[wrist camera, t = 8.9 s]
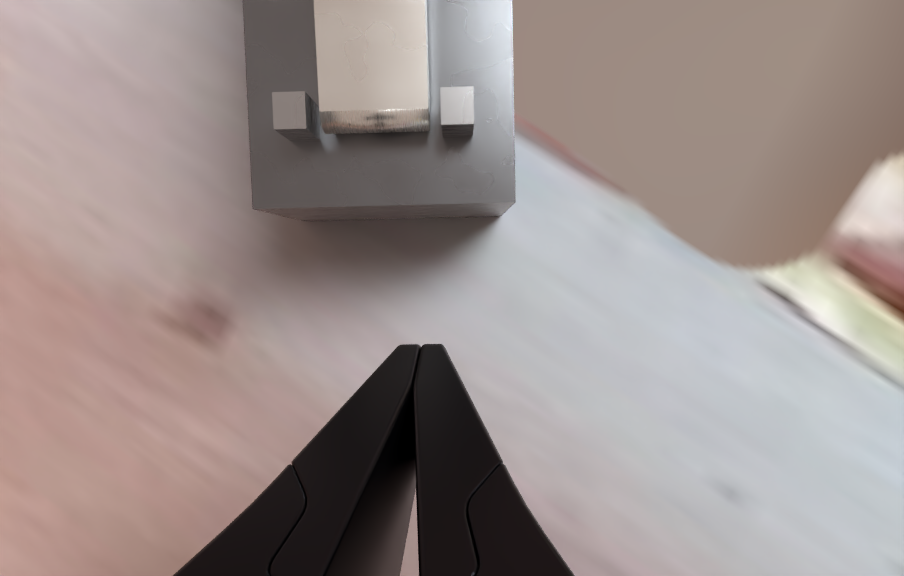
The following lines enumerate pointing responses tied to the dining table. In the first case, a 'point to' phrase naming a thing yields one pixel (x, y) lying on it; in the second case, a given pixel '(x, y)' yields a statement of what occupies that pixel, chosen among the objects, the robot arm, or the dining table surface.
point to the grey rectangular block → (388, 153)
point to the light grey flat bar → (372, 65)
